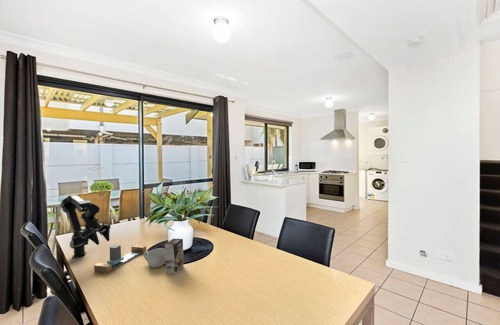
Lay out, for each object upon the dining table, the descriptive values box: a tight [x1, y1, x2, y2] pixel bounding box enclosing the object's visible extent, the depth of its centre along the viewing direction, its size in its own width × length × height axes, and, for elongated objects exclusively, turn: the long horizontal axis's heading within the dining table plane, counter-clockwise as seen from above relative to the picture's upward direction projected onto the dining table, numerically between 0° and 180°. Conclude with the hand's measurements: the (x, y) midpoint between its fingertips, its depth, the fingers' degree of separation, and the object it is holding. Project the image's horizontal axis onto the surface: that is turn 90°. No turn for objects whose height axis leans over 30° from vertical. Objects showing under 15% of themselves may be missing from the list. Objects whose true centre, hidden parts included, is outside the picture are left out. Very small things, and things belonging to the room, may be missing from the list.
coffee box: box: [164, 238, 184, 275], centre depth 132 cm, size 9×6×16 cm
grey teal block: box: [106, 244, 124, 265], centre depth 139 cm, size 7×5×9 cm
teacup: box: [143, 247, 165, 269], centre depth 139 cm, size 14×11×8 cm
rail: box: [93, 244, 147, 275], centre depth 144 cm, size 30×9×4 cm, turn 164°
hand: (103, 242), depth 142 cm, fingers open, 9 cm apart
